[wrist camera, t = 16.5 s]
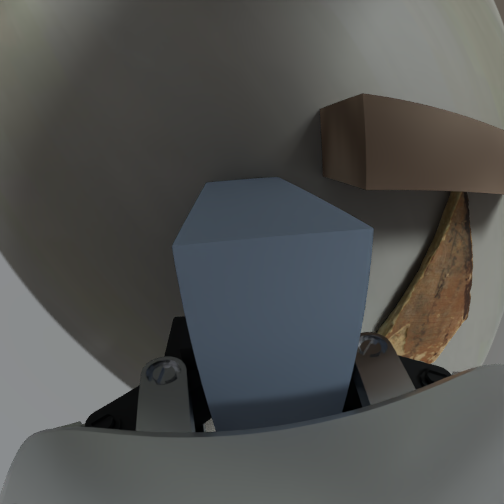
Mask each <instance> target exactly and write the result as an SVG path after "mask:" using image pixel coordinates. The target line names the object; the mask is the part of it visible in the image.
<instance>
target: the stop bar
mask: <svg viewBox="0 0 504 504" xmlns="http://www.w3.org/2000/svg"><path fill="white" fill-rule="evenodd" d="M320 121H321V139H322V163H323V177H327V178H330V179H333V180H337V181H340V182H343V183H346V184H349V185H352V186H355V187H359V188H362V189H365V190H434V191H460V192H478V193H493V194H504V130H502V129H499V128H497V127H494V126H492V125H489V124H486V123H484V122H481V121H478V120H475V119H472V118H469V117H466V116H463V115H460V114H457V113H453V112H450V111H446V110H443V109H439V108H435V107H431V106H427V105H423V104H419V103H414V102H410V101H405V100H400V99H394V98H389V97H383V96H377V95H370V94H360V95H357V96H354V97H351V98H348V99H345V100H342V101H340V102H337V103H334V104H332V105H329V106H326V107H324V108H321V109H320Z"/></svg>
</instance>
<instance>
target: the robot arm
mask: <svg viewBox="0 0 504 504" xmlns="http://www.w3.org/2000/svg"><path fill="white" fill-rule="evenodd" d="M210 418H212V416H211V413H210V410H209V407H208V403H207V400H206V396H205V393H204V389H203V386H202V382H201V378H200V375H199V371H198V367H197V363H196V359H195V355H194V351H193V347H192V343H191V339H190V335H189V330H188V326H187V322H186V317H175V318H174V319H173V323H172V327H171V331H170V335H169V339H168V344H167V348H166V352H165V356H164V357H159V358H156V359H154V360H151V361H150V362H149V363H147V364H146V365H145V366H144V368H143V369H142V372H141V378H140V385H139V386H138V387H136V388H134V389H133V390H131V391H129V392H128V393H126V394H124V395H123V396H121V397H119V398H118V399H116V400H114V401H113V402H111V403H109V404H107V405H106V406H104V407H102V408H101V409H99V410H97V411H95V412H94V413H93V414H91V415H90V416H89V417H88V419H87V420H86V423H85V424H82V423H81V422H76V423H73V424H69V425H65V426H61V427H57V428H54V429H48V430H43V431H40V432H37V433H34V434H33V435H31V436H30V437H28V439H27V440H25V441H24V443H23V444H22V445H21V447H20V449H19V450H18V452H17V454H16V456H15V458H14V460H13V462H12V464H11V466H10V468H9V471H8V474H7V476H6V479H5V482H4V485H3V488H2V491H1V494H0V504H504V365H503V364H492V365H483V366H479V367H475V368H471V369H468V370H465V371H462V372H453V373H452V375H451V374H450V373H449V372H448V371H447V370H446V369H444V368H442V367H439V366H436V365H432V364H428V363H424V362H421V361H417V360H414V359H410V358H407V357H403V356H400V355H397V353H396V351H395V349H394V347H393V346H392V344H391V342H390V341H389V340H388V339H387V338H386V337H384V336H383V335H380V334H378V333H373V332H364V333H360V339H359V344H358V349H357V353H356V358H355V363H354V367H353V371H352V376H351V380H350V384H349V388H348V392H347V396H346V399H345V403H344V407H343V410H342V413H339V414H335V415H331V416H327V417H322V418H318V419H313V420H308V421H302V422H297V423H291V424H285V425H278V426H271V427H263V428H255V429H245V430H234V431H219V432H206V428H205V424H204V423H205V422H207V421H208V420H209V419H210Z"/></svg>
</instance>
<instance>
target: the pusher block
mask: <svg viewBox="0 0 504 504" xmlns="http://www.w3.org/2000/svg"><path fill="white" fill-rule="evenodd" d="M373 231H374V228H372V227H370V226H369V225H367V224H365V223H364V222H362V221H360V220H358V219H357V218H355V217H353V216H351V215H350V214H348V213H346V212H344V211H342V210H341V209H339V208H337V207H335V206H333V205H332V204H330V203H328V202H326V201H324V200H322V199H320V198H319V197H317V196H315V195H313V194H311V193H309V192H307V191H305V190H303V189H301V188H299V187H297V186H295V185H293V184H291V183H289V182H287V181H285V180H283V179H281V178H279V177H269V178H254V179H241V180H229V181H218V182H208V183H206V184H205V186H204V188H203V189H202V191H201V193H200V195H199V197H198V198H197V200H196V202H195V204H194V206H193V207H192V209H191V211H190V213H189V215H188V217H187V218H186V220H185V222H184V224H183V226H182V228H181V230H180V232H179V233H178V235H177V237H176V239H175V241H174V243H173V245H172V250H173V256H174V261H175V267H176V273H177V278H178V283H179V288H180V293H181V298H182V303H183V308H184V313H185V317H186V322H187V326H188V330H189V335H190V339H191V343H192V347H193V351H194V355H195V359H196V363H197V367H198V371H199V375H200V378H201V382H202V386H203V389H204V393H205V396H206V400H207V403H208V407H209V410H210V413H211V416H212V420H213V423H214V426H215V429H216V432H219V431H234V430H245V429H255V428H263V427H271V426H278V425H285V424H291V423H297V422H302V421H308V420H313V419H318V418H322V417H327V416H331V415H335V414H339V413H342V410H343V407H344V403H345V399H346V396H347V392H348V388H349V384H350V380H351V376H352V371H353V367H354V363H355V358H356V353H357V349H358V344H359V339H360V333H361V328H362V322H363V316H364V310H365V304H366V297H367V290H368V282H369V274H370V265H371V255H372V244H373Z"/></svg>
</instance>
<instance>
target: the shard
mask: <svg viewBox="0 0 504 504" xmlns="http://www.w3.org/2000/svg"><path fill="white" fill-rule="evenodd" d="M468 202H469V200H468V195H467V192H460V191H451V193H450V197H449V199H448V202H447V204H446V207H445V209H444V212H443V215H442V217H441V220H440V223H439V226H438V229H437V231H436V234H435V236H434V239H433V241H432V243H431V245H430V247H429V249H428V251H427V254H426V256H425V257H424V259H423V261H422V264H421V267H420V269H419V271H418V272H417V274H416V275H415V277H414V278H413V280H412V282H411V283H410V285H409V287H408V288H407V290H406V291H405V293H404V295H403V296H402V298H401V300H400V301H399V302H398V304H397V306H396V307H395V309H394V310H393V311H392V312H391V314H390V315H389V317H388V318H387V319H386V321H385V322H384V323H383V325H382V326H381V327H380V328H379V330H378V334H380V335H383V336H384V337H386V338H387V339H388V340H389V341H390V342H391V344H392V346H393V347H394V349H395V351H396V353H397V355H400V356H403V357H407V358H410V359H414V360H417V361H423V362H424V363H428V364H431V363H433V362H434V361H435V360H436V359H437V358H438V356H439V355H440V354H441V352H442V351H443V349H444V348H445V347H446V345H447V344H448V342H449V341H450V339H451V338H452V337H453V335H454V334H455V333H456V331H457V330H458V328H459V327H460V326H461V324H462V323H463V322H464V321H465V320H466V319H467V318H468V312H469V306H470V299H471V295H470V290H471V286H472V270H473V260H472V258H473V254H472V238H471V228H470V220H469V208H468V205H469V204H468Z"/></svg>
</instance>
